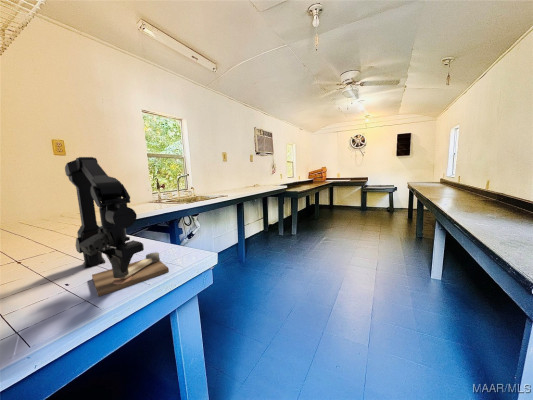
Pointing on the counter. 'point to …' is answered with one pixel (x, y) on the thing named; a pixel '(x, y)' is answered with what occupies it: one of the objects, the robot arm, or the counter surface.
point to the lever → (118, 273)
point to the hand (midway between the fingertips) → (120, 270)
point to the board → (109, 284)
